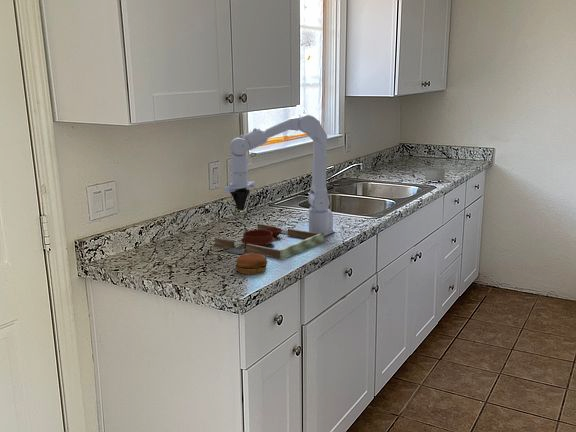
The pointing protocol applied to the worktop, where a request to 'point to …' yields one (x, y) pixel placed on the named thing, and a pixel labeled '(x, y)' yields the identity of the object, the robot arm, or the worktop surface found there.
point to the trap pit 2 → (284, 232)
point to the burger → (251, 263)
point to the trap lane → (283, 253)
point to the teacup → (435, 173)
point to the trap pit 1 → (235, 251)
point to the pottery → (261, 236)
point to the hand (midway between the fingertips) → (240, 209)
